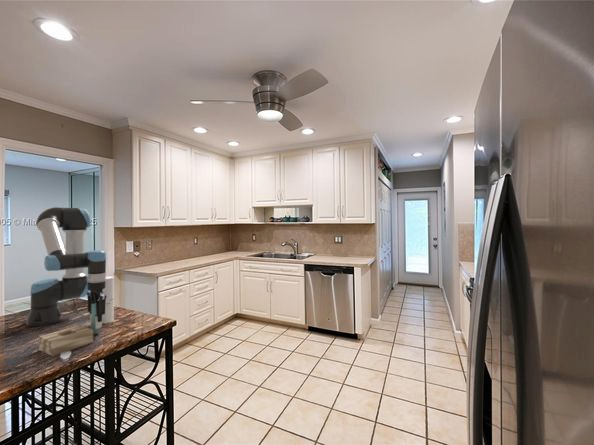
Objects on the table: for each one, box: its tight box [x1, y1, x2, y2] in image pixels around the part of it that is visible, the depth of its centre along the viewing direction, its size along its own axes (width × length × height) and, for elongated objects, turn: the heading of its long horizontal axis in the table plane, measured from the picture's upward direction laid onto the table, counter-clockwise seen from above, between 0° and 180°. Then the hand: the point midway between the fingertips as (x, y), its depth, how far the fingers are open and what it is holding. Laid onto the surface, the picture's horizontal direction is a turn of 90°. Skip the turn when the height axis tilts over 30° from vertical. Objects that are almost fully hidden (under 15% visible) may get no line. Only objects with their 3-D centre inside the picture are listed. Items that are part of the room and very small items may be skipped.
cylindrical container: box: [102, 276, 115, 324], centre depth 167 cm, size 7×7×25 cm
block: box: [38, 324, 94, 357], centre depth 134 cm, size 12×16×6 cm
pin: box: [90, 303, 102, 334], centre depth 148 cm, size 4×4×14 cm
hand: (96, 326), depth 148 cm, fingers closed on pin, 4 cm apart
